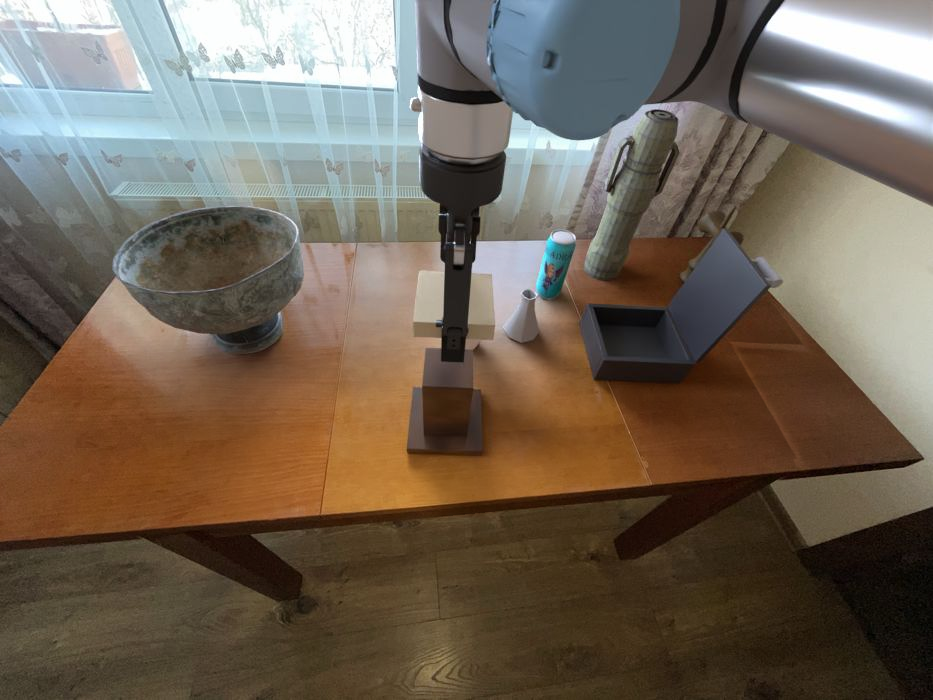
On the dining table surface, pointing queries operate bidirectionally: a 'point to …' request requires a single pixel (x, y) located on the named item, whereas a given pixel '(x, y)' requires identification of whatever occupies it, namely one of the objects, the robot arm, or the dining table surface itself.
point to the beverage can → (555, 263)
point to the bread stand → (446, 408)
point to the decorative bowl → (216, 273)
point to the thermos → (632, 190)
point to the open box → (634, 344)
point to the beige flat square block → (433, 303)
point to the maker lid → (719, 293)
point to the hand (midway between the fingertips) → (453, 330)
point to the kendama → (713, 226)
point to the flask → (523, 318)
